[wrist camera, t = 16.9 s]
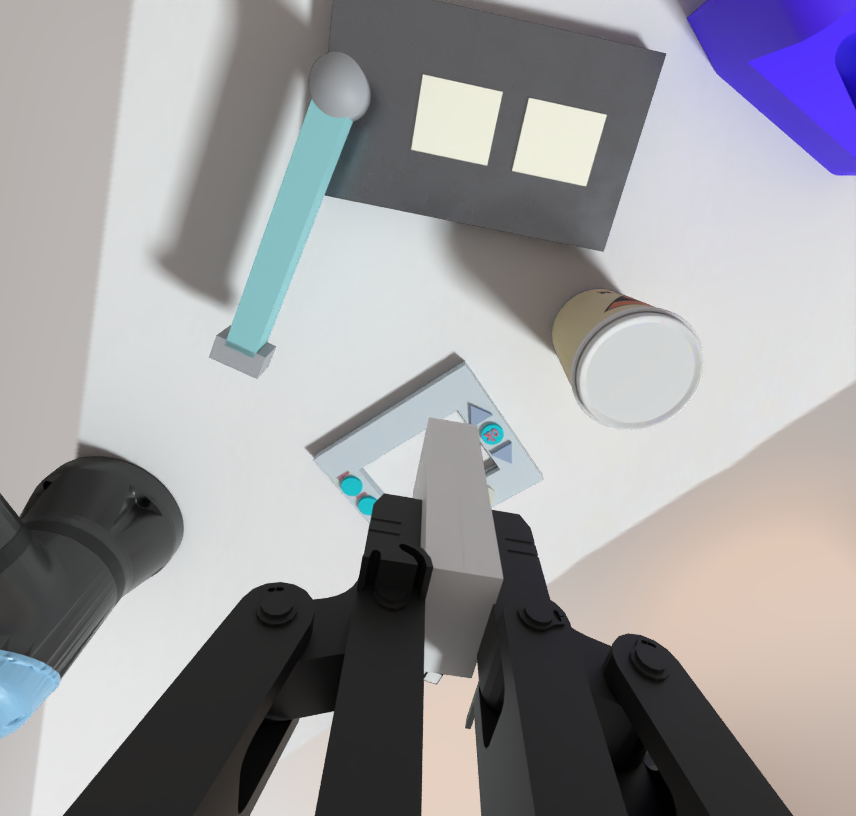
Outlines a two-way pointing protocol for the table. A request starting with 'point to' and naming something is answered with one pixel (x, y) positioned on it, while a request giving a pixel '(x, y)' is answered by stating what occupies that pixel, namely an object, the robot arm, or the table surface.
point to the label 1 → (456, 120)
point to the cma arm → (294, 210)
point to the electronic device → (412, 418)
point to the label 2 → (558, 142)
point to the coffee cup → (627, 359)
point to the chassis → (518, 80)
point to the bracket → (790, 67)
